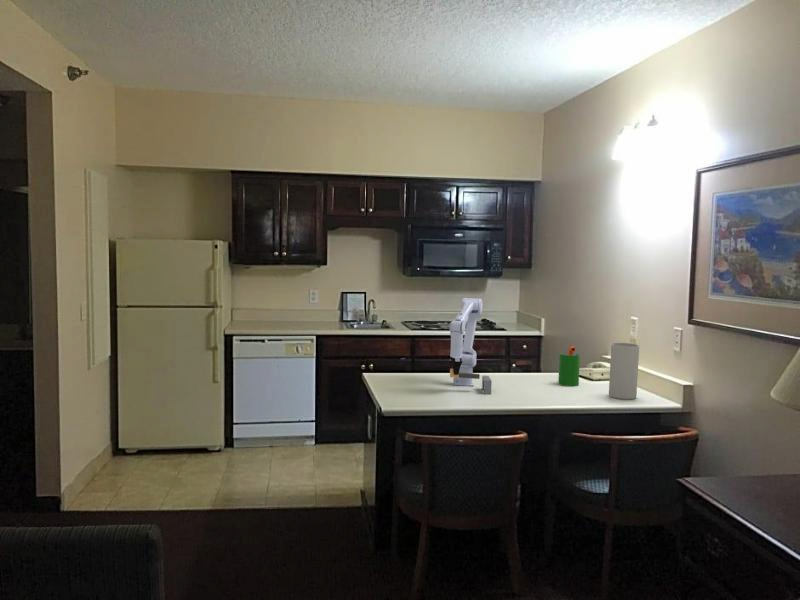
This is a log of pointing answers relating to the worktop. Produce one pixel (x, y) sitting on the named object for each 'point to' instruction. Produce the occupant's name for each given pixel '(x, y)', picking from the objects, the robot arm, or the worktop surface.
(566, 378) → the green upright cylinder
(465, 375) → the plug
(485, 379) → the bracket
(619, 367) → the cylinder vase
